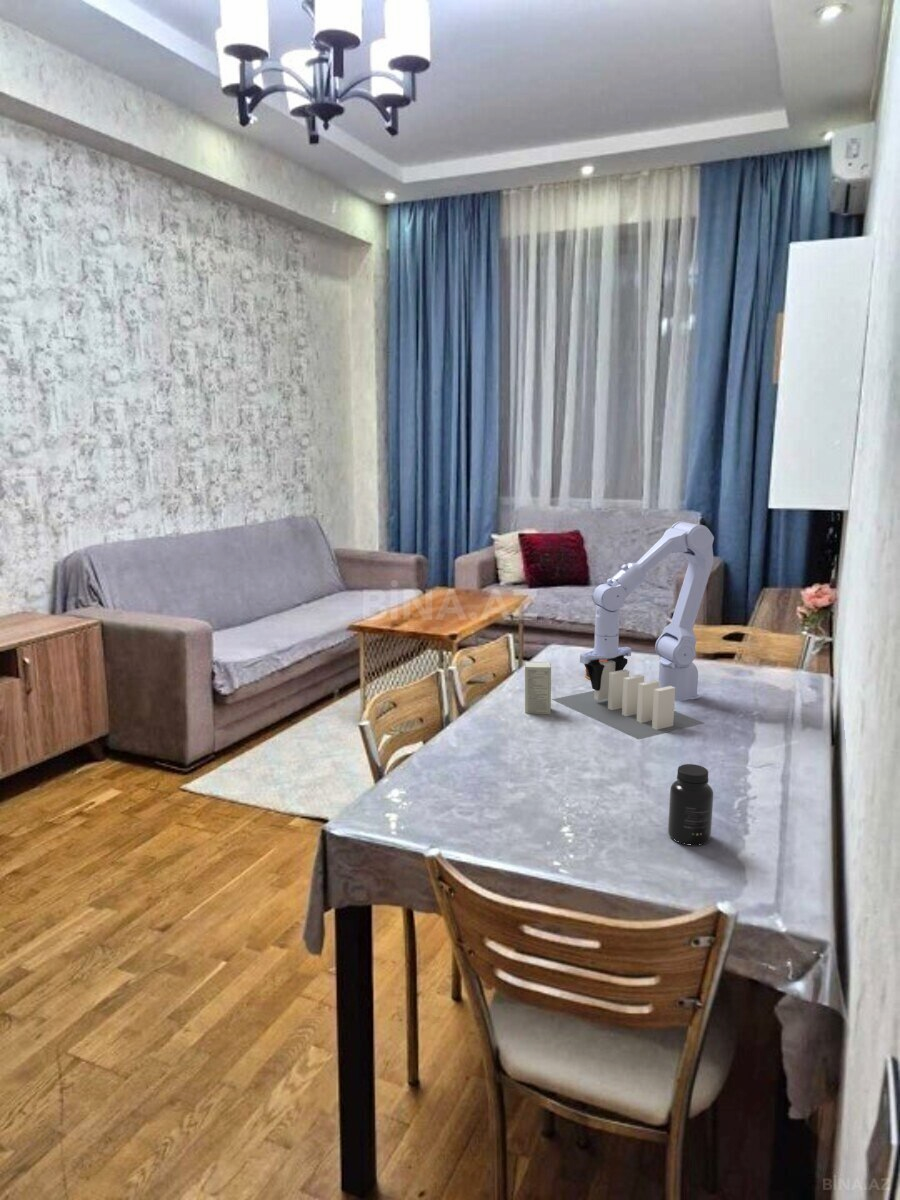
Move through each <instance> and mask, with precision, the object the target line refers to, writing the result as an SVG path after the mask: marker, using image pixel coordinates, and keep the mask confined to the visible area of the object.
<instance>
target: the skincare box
mask: <svg viewBox="0 0 900 1200" xmlns="http://www.w3.org/2000/svg"><path fill="white" fill-rule="evenodd" d="M551 711H552V663H551V661H525V662H524V714H536V715H537V714H539V715H540V714H541V715H551V714H552V713H551Z"/></svg>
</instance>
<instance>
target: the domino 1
mask: <svg viewBox="0 0 900 1200" xmlns="http://www.w3.org/2000/svg"><path fill="white" fill-rule="evenodd" d="M600 664H602V665H604V666H605V667H604V669H603V672H602V676H601V687H600V690H599V691H597V690H594V691H595V694H594V699H596V700H602V699H607V698H608V689H609V672H614V671H615V662H614V661H612V660H611V661H606V662H600Z"/></svg>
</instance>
